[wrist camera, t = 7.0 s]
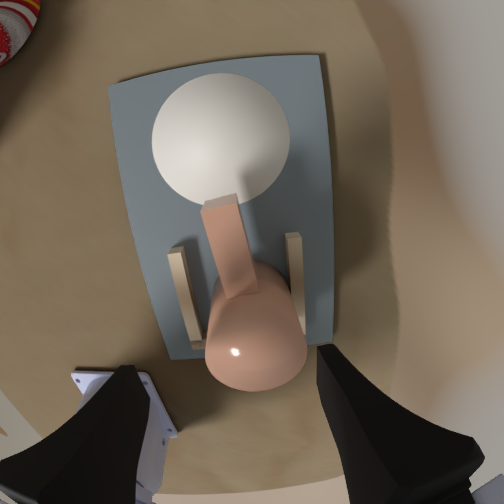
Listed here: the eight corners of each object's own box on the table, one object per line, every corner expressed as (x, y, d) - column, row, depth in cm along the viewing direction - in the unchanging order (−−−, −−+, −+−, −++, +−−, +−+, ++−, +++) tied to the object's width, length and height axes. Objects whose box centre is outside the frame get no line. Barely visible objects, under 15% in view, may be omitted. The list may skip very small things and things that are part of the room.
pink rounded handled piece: (293, 316, 20) (312, 379, 14) (224, 331, 20) (222, 397, 14) (264, 180, 16) (279, 203, 11) (181, 201, 17) (154, 235, 11)
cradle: (302, 328, 20) (305, 336, 19) (194, 340, 20) (192, 349, 19) (298, 231, 18) (301, 237, 17) (170, 247, 18) (167, 254, 17)
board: (330, 336, 21) (332, 341, 21) (172, 354, 21) (170, 360, 21) (316, 57, 14) (318, 55, 14) (111, 87, 14) (107, 86, 14)
